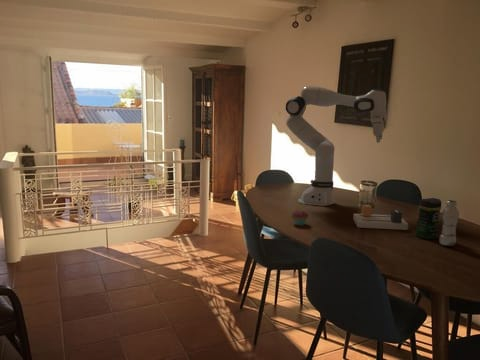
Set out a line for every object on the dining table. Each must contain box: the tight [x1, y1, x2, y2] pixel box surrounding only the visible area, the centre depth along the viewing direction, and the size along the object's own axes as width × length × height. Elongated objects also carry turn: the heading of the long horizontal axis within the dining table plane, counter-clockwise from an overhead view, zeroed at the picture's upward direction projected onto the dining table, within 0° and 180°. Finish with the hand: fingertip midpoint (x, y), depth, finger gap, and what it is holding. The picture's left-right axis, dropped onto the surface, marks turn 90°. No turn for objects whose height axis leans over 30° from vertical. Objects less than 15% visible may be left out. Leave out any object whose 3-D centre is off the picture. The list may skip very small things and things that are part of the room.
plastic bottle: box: [438, 199, 460, 247], centre depth 173 cm, size 6×7×20 cm
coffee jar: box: [415, 197, 442, 240], centre depth 184 cm, size 10×8×19 cm
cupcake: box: [291, 202, 310, 227], centre depth 202 cm, size 9×8×12 cm
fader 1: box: [361, 204, 372, 217], centre depth 210 cm, size 4×5×5 cm
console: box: [352, 213, 409, 231], centre depth 206 cm, size 24×16×3 cm, turn 82°
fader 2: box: [390, 209, 403, 223], centre depth 200 cm, size 4×5×5 cm
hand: (379, 140), depth 236 cm, fingers open, 8 cm apart
